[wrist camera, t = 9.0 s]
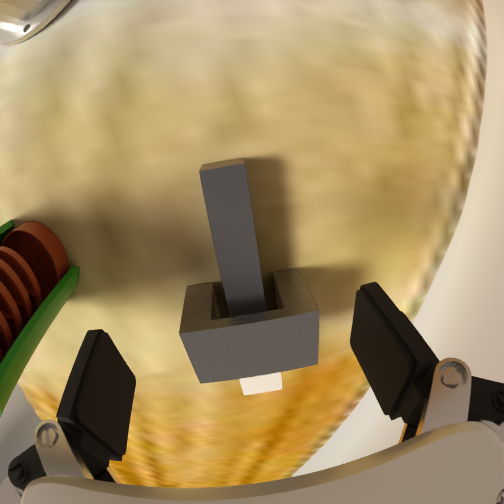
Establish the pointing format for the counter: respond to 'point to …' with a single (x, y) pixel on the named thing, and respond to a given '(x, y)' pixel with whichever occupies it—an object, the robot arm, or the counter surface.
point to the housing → (251, 332)
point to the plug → (236, 249)
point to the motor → (28, 295)
